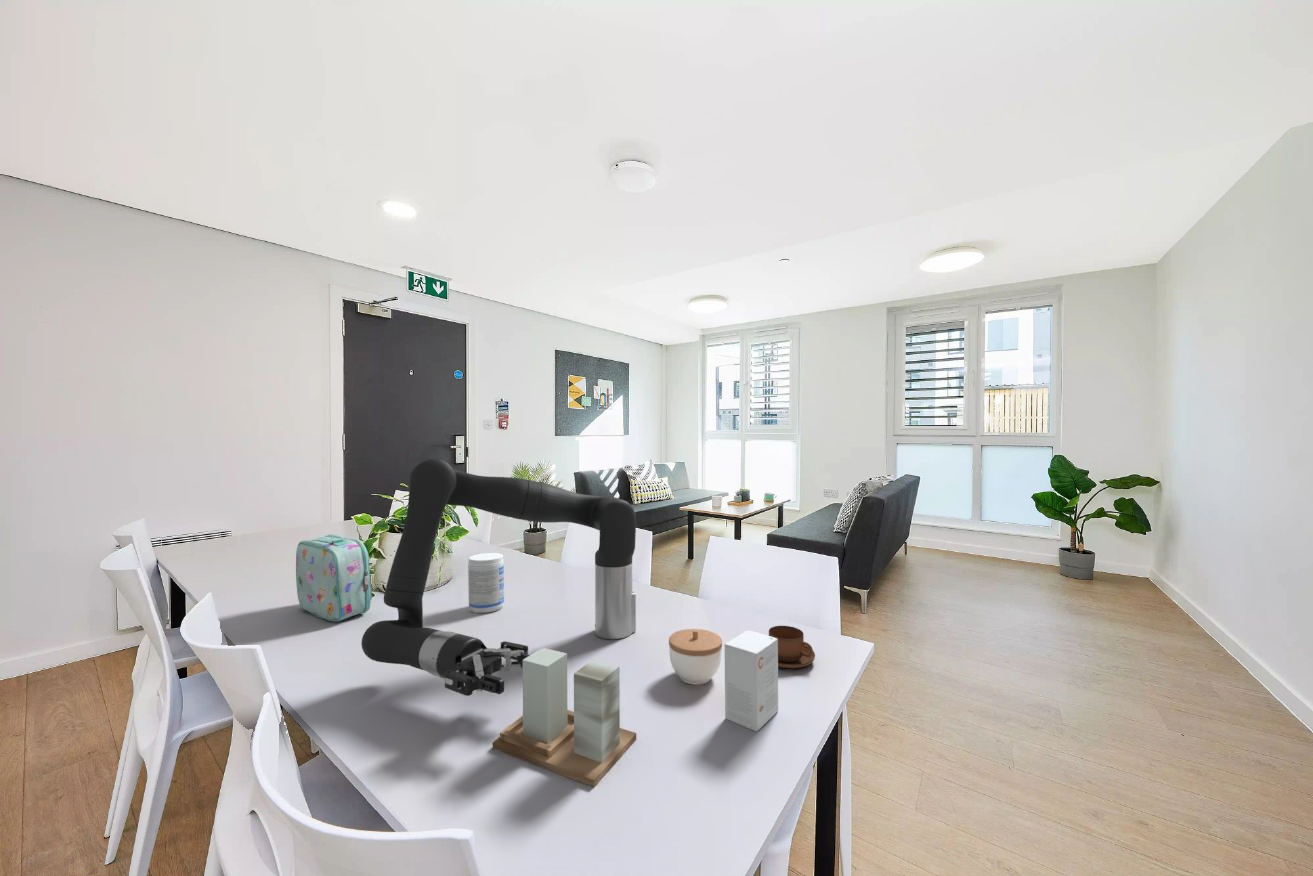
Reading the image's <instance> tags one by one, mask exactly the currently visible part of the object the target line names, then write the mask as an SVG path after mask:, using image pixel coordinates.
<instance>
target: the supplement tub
mask: <svg viewBox="0 0 1313 876" xmlns="http://www.w3.org/2000/svg"><path fill="white" fill-rule="evenodd" d="M504 563H505V562H504V555H503V554H502V553H498V552H484V553H478V554H474V555H471V556H469V557H468V563H467V564H468V565H467V570H468V571H467V572H468V573H467V576H468V577H467V578H468V579H467V580H468V581H467V582H468V584H467V585H468V609H469V611H470V612H473V613H476V614H486V613H492V612H495V611H496V612H497V611H498V610H501V609H502V608H503V607H504V605H505V570H504V569H505V566H504V565H505V564H504Z"/></svg>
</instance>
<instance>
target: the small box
mask: <svg viewBox="0 0 1313 876" xmlns="http://www.w3.org/2000/svg"><path fill="white" fill-rule="evenodd" d="M724 712H725V715H724V716H725V719H726V720H729V721H731V722H733V723H735V724H737V725H740V726H742V727H744V728H747V729H749V730H751V731H754V732H758V731H759V730H760V729H761V728H762V727H763V726H764V725H765V724H766V723H767V722H769V720H770V719H772V717H774V716H775V715H776V714H777V713H778V712H779V666H778V639H777V638H774V637H771V636H769V634H768V635H767V634H763V633H761V632H756V631H753V630H749V629H747V630H745V631H743V632H741V633H740V634H738V635H737V636H735V637H734V638H732V639H730V640H729V641H727V642H726V643H724Z"/></svg>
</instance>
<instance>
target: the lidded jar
mask: <svg viewBox="0 0 1313 876" xmlns="http://www.w3.org/2000/svg"><path fill="white" fill-rule="evenodd" d="M668 645H669V646H668V648H669V649H668V650H669V659H670V663H671V667H672V668H673V670H674V672H675V673H676V675H677V676H678V677H679V678H680V680H681V681H682V682H684V683H685V684H687V685H694V686H695V685H696V686H699V685H704V684H707V683H709V682H710V681H711V679H712V678H713V677H714V676H715V675H716V673H717V672H718V670H719V668H720V664H721V661H722V647H723V639H722V637H721V636H720V635H719V634H717V633H715V632H714V631H710V630H707V629H701V628H686V629H680V630H677V631H675V632H673V633H671V635H670V636H669V637H668Z"/></svg>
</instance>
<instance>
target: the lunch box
mask: <svg viewBox="0 0 1313 876" xmlns="http://www.w3.org/2000/svg"><path fill="white" fill-rule="evenodd" d="M370 570H371V569H370V556H369V552H368V549H367V547H366V546H365V544H364V543H363V542H361V541H360V540H358V539H353V538H346V537H342V536H340V535H337V534H332V533H331V534H327V535H324V536H320V537H317V538H312V539H307V540H301V541H300V542H298V543H297V547H296V554H295V578H296V579H295V581H296V591H297V592H296V595H297V600H298V603H299V606H300V608H301V609H302V610H304V611H306V612H308V613H311V614H312V615H314V616H315V617H316V618H321V619H324V620H327V621H330V622H334V623H335V622H340V621H343V620H346V619H348V618H351V617H353V616H356V615H359V614H365V613H367V612H368V611H369V610H370V607H371V603H372V602H371V601H372V599H373V594H372V584H371V574H370V573H371V572H370Z"/></svg>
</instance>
